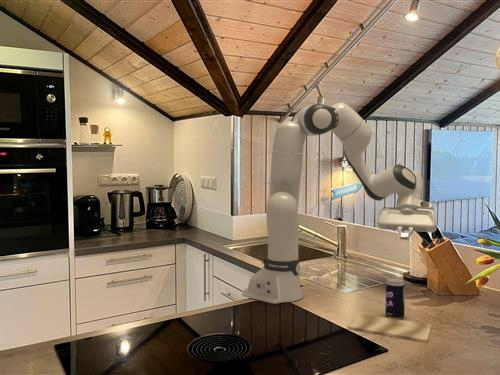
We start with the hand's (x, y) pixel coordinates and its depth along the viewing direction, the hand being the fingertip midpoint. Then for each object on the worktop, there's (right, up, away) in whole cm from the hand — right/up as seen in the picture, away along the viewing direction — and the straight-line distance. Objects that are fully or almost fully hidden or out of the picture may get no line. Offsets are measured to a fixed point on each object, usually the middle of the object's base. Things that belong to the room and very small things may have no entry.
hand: (404, 238), depth 153 cm
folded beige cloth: (-13, -24, -25) cm, 37 cm away
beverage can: (-9, -23, -16) cm, 30 cm away
